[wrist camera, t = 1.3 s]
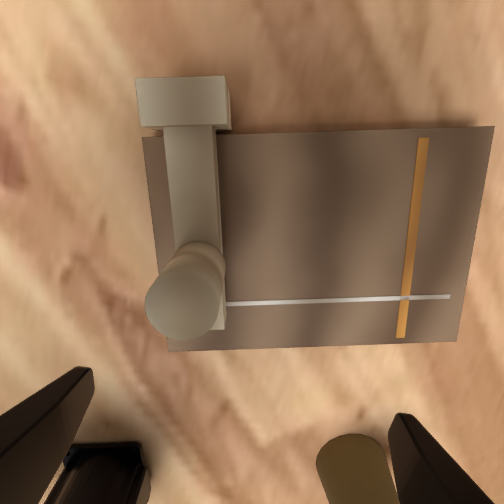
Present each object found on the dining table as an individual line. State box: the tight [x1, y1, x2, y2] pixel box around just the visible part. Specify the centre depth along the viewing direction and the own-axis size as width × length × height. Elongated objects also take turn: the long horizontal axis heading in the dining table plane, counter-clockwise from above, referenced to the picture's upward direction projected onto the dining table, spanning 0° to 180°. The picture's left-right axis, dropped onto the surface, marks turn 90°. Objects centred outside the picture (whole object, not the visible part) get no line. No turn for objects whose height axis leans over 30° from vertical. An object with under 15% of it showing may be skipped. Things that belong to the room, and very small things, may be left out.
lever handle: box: [135, 75, 232, 340], centre depth 17 cm, size 4×13×9 cm, turn 2°
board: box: [142, 126, 495, 352], centre depth 21 cm, size 20×14×2 cm
